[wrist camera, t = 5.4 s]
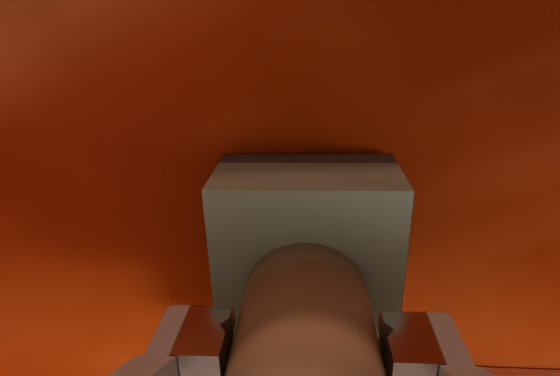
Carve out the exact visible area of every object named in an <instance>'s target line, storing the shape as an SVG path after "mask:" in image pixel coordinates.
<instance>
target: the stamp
mask: <svg viewBox="0 0 560 376" xmlns="http://www.w3.org/2000/svg"><path fill="white" fill-rule="evenodd" d="M201 191H202V201H203V211H204V220H205V230H206V240H207V250H208V259H209V269H210V279H211V289H212V298H213V306H223V307H234V309H235V315H236V324H235V328H234V337H233V342H232V346H231V350H230V354H229V358H228V363H227V367H226V371H225V375H224V376H386V375H385V370H384V365H383V361H382V356H381V351H380V346H379V342H378V338H379V333H378V328H377V320H378V314H379V311H401V309H402V300H403V291H404V282H405V273H406V264H407V255H408V246H409V237H410V227H411V218H412V209H413V200H414V190H413V188H412V186H411V185H410V183H409V181H408V180H407V178H406V176H405V175H404V173H403V171H402V169H401V168H400V166H399V164H398V163H397V161H396V159H395V158H394V156H393V154H224V155H223V156H222V158H221V159H220V161H219V163H218V164H217V166H216V167H215V169H214V171H213V172H212V174H211V175H210V177H209V179H208V180H207V182H206V184H205V185H204V187H203V188H202V190H201Z"/></svg>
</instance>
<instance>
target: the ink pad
mask: <svg viewBox="0 0 560 376" xmlns="http://www.w3.org/2000/svg"><path fill="white" fill-rule="evenodd" d="M484 368H485V369H486V370H488V371H489V372H490V373H492V374H493V375H494V376H560V370H549V369H521V368H493V367H484Z"/></svg>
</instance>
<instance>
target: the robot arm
mask: <svg viewBox="0 0 560 376" xmlns="http://www.w3.org/2000/svg"><path fill="white" fill-rule="evenodd" d="M235 324H236V315H235V309H234V307H223V306H203V305H192V306H191V305H174V304H171V305H170V306H169V307H167V309H166V311H165V313H164V315H163V317H162V319H161V321H160V323H159V325H158V327H157V329H156V331H155V333H154V335H153V337H152V339H151V341H150V343H149V345H148V347H147V349H146V351H145V353H144V355H136V356H135V357H133V358H132V359H130V360H129V361H128V362H126V363H125V364H123V365H122V366H120V367H119V368H117V369H116V370H115V371H113V372H112V373H110V374H109V375H107V376H224V375H225V371H226V367H227V363H228V358H229V354H230V350H231V346H232V342H233V337H234V328H235ZM377 328H378V333H379V338H378V342H379V346H380V351H381V356H382V361H383V365H384V370H385V375H386V376H494V375H493V374H492V373H490V372H489V371H488V370H486V369H485V368H484V367H476V366H475V364H474V362H473V360H472V358H471V356H470V354H469V352H468V350H467V348H466V346H465V344H464V342H463V339H462V337H461V335H460V333H459V331H458V329H457V327H456V325H455V323H454V321H453V319H452V317H451V315H450V313H448V312H447V311H424V312H406V311H379V314H378V320H377Z"/></svg>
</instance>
